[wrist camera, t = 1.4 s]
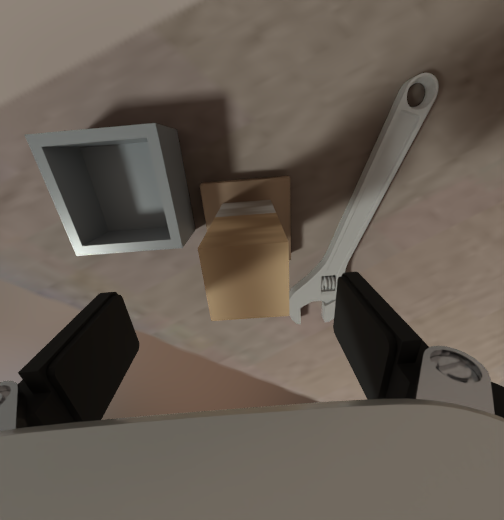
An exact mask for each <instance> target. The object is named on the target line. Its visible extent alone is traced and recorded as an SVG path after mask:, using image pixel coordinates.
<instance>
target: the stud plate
mask: <svg viewBox="0 0 504 520" xmlns="http://www.w3.org/2000/svg"><path fill="white" fill-rule="evenodd" d="M200 191H201V197H202V203H203V209H204V215H205V221H206V227H207V231H208V229H209V227H210V225H211V224H212V222H213V220H214V218H215V216H216V214H217V213H218V211H219V209H220V207H221V205H222V204H223V203H235V202H248V201H261V200H271V202H272V204H273V207H274V209H275V211H276V214H277V216H278V218H279V221H280V223H281V225H282V228H283V230H284V232H285V235H286V237H287V239H288V242H289V260H291V216H290V177H289V176H277V177H265V178H253V179H241V180H229V181H217V182H205V183H201V184H200Z"/></svg>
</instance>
